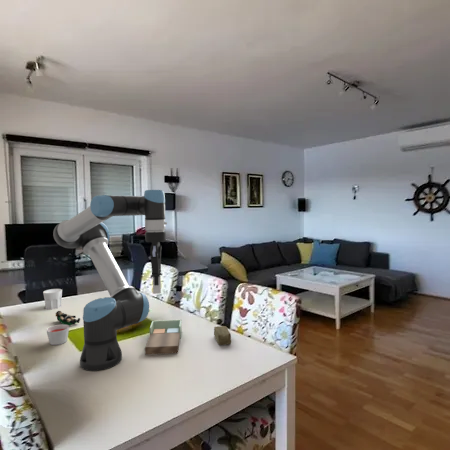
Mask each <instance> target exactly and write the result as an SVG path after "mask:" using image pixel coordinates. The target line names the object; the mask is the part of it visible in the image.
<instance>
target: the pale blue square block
mask: <svg viewBox="0 0 450 450" xmlns="http://www.w3.org/2000/svg"><path fill="white" fill-rule="evenodd" d="M167 333H179V328H170V329H168V330H167Z"/></svg>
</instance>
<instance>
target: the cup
mask: <svg viewBox="0 0 450 450" xmlns="http://www.w3.org/2000/svg"><path fill="white" fill-rule="evenodd" d="M42 294H43V298H44V299H43V300H44V304H45V305H44V307H45V309H46V310H55V309H58V308H60V307H61V308H62V298H63V297H62V296H63V288H62V289H61V288H51V289H46V290H44V291H43V292H42Z"/></svg>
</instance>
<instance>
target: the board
mask: <svg viewBox="0 0 450 450" xmlns="http://www.w3.org/2000/svg"><path fill="white" fill-rule="evenodd" d="M180 342H181V339H180V333H160V334H150V333H149V336H148V339H147V342H146V345H145V346H144V351H145V352H144V355H164V354H165V355H166V354H167V355H168V354H178V353H179V350H180V344H181V343H180Z"/></svg>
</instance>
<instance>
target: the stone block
mask: <svg viewBox="0 0 450 450" xmlns="http://www.w3.org/2000/svg"><path fill="white" fill-rule="evenodd" d="M213 328H214V329H213V336H214V338H215V340H216V343H217V344H218V345H219V346H229V345H231V344H232V335H231V332H230V331H229V329H228V327H227V326H226V325H220V326H214V327H213Z"/></svg>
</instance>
